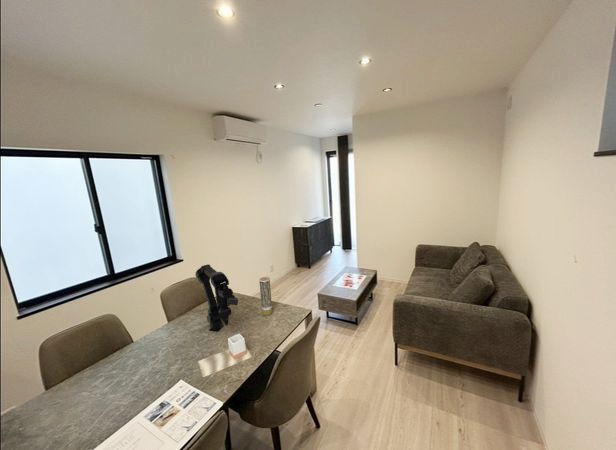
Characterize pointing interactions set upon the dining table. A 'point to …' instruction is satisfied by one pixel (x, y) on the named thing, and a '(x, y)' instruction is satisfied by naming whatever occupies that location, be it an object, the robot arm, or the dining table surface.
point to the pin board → (220, 362)
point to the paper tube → (265, 295)
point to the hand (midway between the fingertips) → (226, 322)
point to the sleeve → (236, 346)
